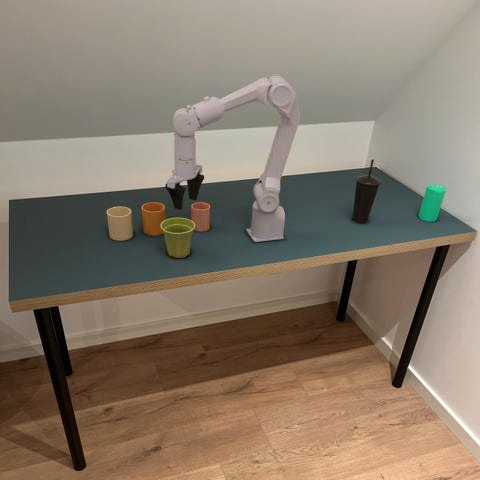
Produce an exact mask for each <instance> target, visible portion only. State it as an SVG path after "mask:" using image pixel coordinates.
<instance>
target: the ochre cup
mask: <svg viewBox="0 0 480 480" xmlns="http://www.w3.org/2000/svg"><path fill="white" fill-rule="evenodd" d="M140 209H141V223H142V231H143V233H144V235H145V234H146V235H148V236H153V237H155V236H161V235H164V233H163V230H162V229H161V227H160V225H161V223H162V222H163V221H164V220H167V218H166V217H167V215H166V205H165V204H163V203H162V202H157V201H156V202H155V201H149V202H147V203H146V202H145V203H144V204H142V205H141V208H140Z"/></svg>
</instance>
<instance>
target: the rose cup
mask: <svg viewBox="0 0 480 480" xmlns="http://www.w3.org/2000/svg"><path fill="white" fill-rule="evenodd" d="M190 220H191V221H193V222H194V223H195V229H194V230H193V231H195V232H206V231H209V230H210V227H211V204H209V203H207V202H204V201H199V202H197V201H196V202H194V203H192V204H191V205H190Z"/></svg>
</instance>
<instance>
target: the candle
mask: <svg viewBox="0 0 480 480" xmlns="http://www.w3.org/2000/svg"><path fill="white" fill-rule="evenodd" d="M446 192H447V188H446V187H445V186H442V185H439V183H437V184H427V185H426V188H425V192H424V195H423V198H422V202H421V206H420V209H419V213H418V219H420V220H422V221H424V222H436V221H437V220H438V218H439V217H438V216H439V214H440V211H441V208H442V205H443V202H444V198H445V195H446Z"/></svg>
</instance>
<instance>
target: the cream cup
mask: <svg viewBox="0 0 480 480" xmlns="http://www.w3.org/2000/svg"><path fill="white" fill-rule="evenodd" d="M132 214H133V213H132V209H131V208H129V207H126V206H113V207H110V208H108V209H107V210H106V220H107V229H108V236H109V238H110V239H112V240H114V241H117V242H120V241H127V240H130V239H132V238H133V236H134V227H133V215H132Z"/></svg>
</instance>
